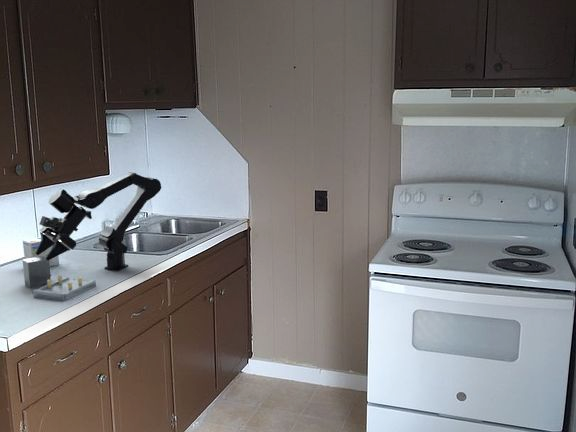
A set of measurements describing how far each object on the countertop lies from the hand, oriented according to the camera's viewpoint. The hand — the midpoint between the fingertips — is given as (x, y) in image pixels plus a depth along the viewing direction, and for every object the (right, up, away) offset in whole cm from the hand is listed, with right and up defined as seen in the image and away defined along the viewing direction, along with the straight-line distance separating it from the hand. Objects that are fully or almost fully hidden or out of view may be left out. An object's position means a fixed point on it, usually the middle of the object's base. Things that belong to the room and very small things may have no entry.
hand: (41, 256), depth 200 cm
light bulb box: (-9, -5, +22) cm, 25 cm away
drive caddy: (-1, -10, +1) cm, 10 cm away
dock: (+11, -11, -7) cm, 17 cm away
